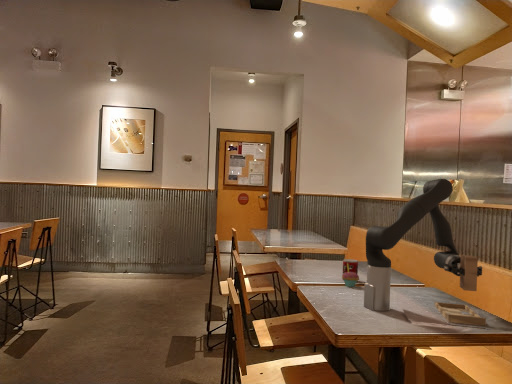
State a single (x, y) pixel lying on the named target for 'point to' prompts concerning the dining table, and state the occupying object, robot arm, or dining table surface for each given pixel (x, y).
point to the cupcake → (350, 278)
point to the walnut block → (469, 273)
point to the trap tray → (460, 314)
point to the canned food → (350, 266)
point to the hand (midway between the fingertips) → (470, 273)
